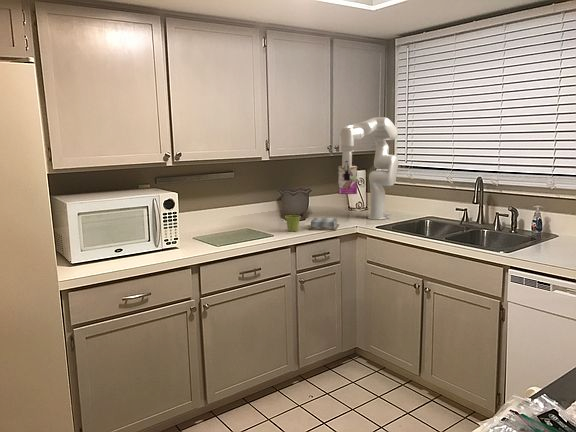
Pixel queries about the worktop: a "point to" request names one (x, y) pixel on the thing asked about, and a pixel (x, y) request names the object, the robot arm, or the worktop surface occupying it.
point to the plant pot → (292, 222)
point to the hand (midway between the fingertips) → (347, 179)
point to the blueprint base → (324, 224)
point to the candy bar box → (350, 185)
